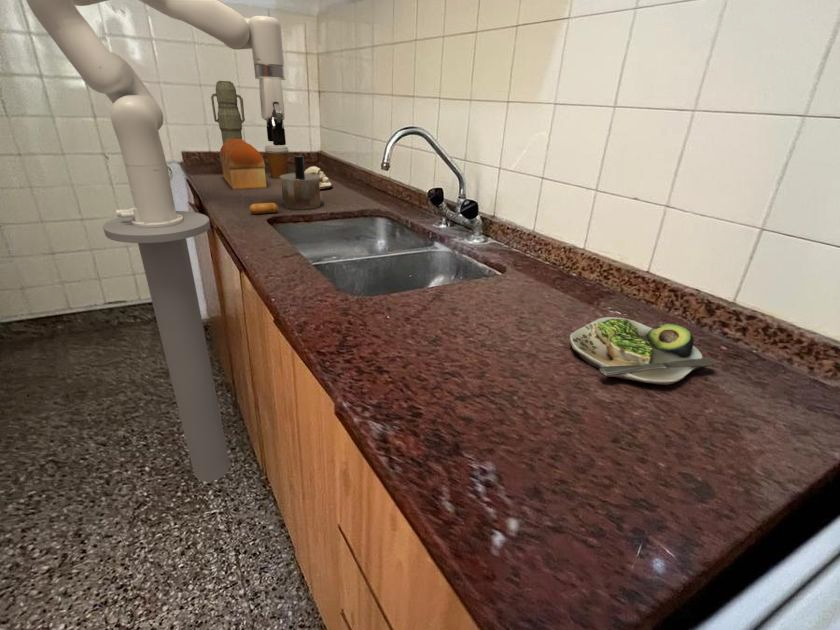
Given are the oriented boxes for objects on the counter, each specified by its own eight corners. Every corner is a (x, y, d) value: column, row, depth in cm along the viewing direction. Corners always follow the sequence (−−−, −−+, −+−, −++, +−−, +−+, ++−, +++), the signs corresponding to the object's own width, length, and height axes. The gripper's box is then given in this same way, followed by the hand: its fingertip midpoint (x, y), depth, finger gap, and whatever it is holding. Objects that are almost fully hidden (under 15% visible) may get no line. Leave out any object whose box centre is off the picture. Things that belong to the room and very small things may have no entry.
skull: (337, 182, 177) (332, 164, 167) (331, 204, 173) (326, 187, 164) (307, 179, 178) (300, 161, 168) (301, 201, 174) (294, 184, 164)
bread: (222, 177, 182) (217, 138, 175) (254, 176, 187) (250, 138, 181) (232, 189, 162) (226, 145, 156) (267, 187, 168) (263, 145, 161)
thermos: (251, 174, 191) (240, 81, 176) (221, 174, 188) (207, 80, 172) (251, 170, 199) (240, 81, 183) (222, 171, 195) (209, 80, 179)
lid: (284, 184, 134) (282, 159, 131) (276, 177, 144) (274, 154, 141) (325, 182, 139) (323, 158, 136) (314, 176, 149) (313, 153, 146)
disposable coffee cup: (286, 179, 184) (283, 148, 179) (263, 178, 184) (260, 147, 179) (293, 175, 192) (291, 146, 187) (272, 174, 193) (269, 144, 187)
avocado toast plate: (658, 415, 55) (669, 384, 53) (540, 352, 67) (546, 325, 65) (721, 366, 66) (732, 338, 64) (610, 320, 78) (616, 296, 76)
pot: (288, 210, 138) (285, 182, 134) (280, 202, 147) (278, 175, 143) (324, 208, 143) (323, 180, 139) (315, 200, 152) (313, 174, 148)
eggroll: (251, 215, 131) (249, 205, 129) (249, 213, 133) (248, 203, 132) (279, 213, 134) (278, 203, 133) (277, 211, 136) (276, 201, 135)
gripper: (250, 73, 122) (258, 140, 130) (259, 71, 109) (267, 146, 116) (279, 74, 125) (285, 139, 133) (290, 73, 111) (296, 146, 119)
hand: (276, 143), depth 125 cm, fingers open, 9 cm apart
